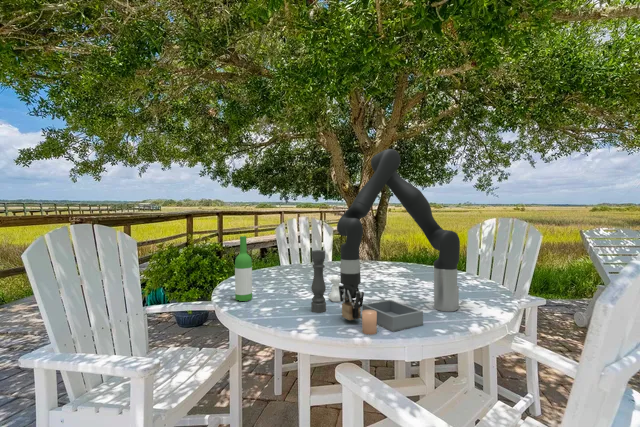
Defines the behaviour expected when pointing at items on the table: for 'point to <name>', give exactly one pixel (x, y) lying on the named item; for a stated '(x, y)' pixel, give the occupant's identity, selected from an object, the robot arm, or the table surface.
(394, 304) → the grey tote
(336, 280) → the white creature statuette
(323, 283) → the candle holder
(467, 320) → the table surface
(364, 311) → the tan cylinder
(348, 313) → the walnut cube
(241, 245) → the wine bottle
